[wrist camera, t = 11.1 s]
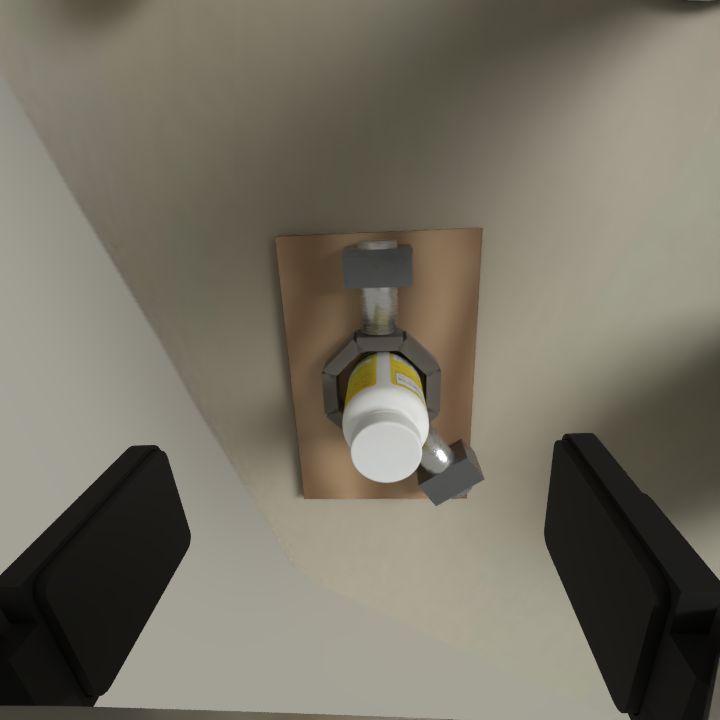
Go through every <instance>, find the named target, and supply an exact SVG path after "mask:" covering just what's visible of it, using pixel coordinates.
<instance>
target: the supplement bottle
mask: <svg viewBox="0 0 720 720" xmlns="http://www.w3.org/2000/svg"><path fill="white" fill-rule="evenodd" d="M342 427H343V433H344V437H345V440H346V442H347V444H348V445H349V447H350V454H351V459H352V462H353V464H354V466H355V468H356V469H357V470H358V471H359V472H360V473H361V474H362V475H363V476H365V477H366V478H368V479H371V480H373V481H377V482H383V483H391V482H396V481H400V480H402V479H405V478H406V477H408V476H410V475H411V474H412V473H413V472H414V471H415V470H416V469H417V467H418V466H419V464H420V461H421V458H422V446H423V445H424V443H425V441H426V439H427V436H428V432H429V418H428V412H427V408H426V404H425V399H424V394H423V390H422V385H421V381H420V377H419V373H418V371H417V369H416V367H415V365H414V363H413V362H412V361H411V360H409V359H408V358H407V357H406V356H405V355H404V354H402V353H400V352H398V351H371V352H369V353H367V354H365V355H363V356H362V357H361V358H360V359H359V360H358V361H357V362H356V363H355V364H354V366H353V368H352V370H351V372H350V376H349V381H348V389H347V394H346V400H345V407H344V412H343V421H342Z"/></svg>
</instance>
